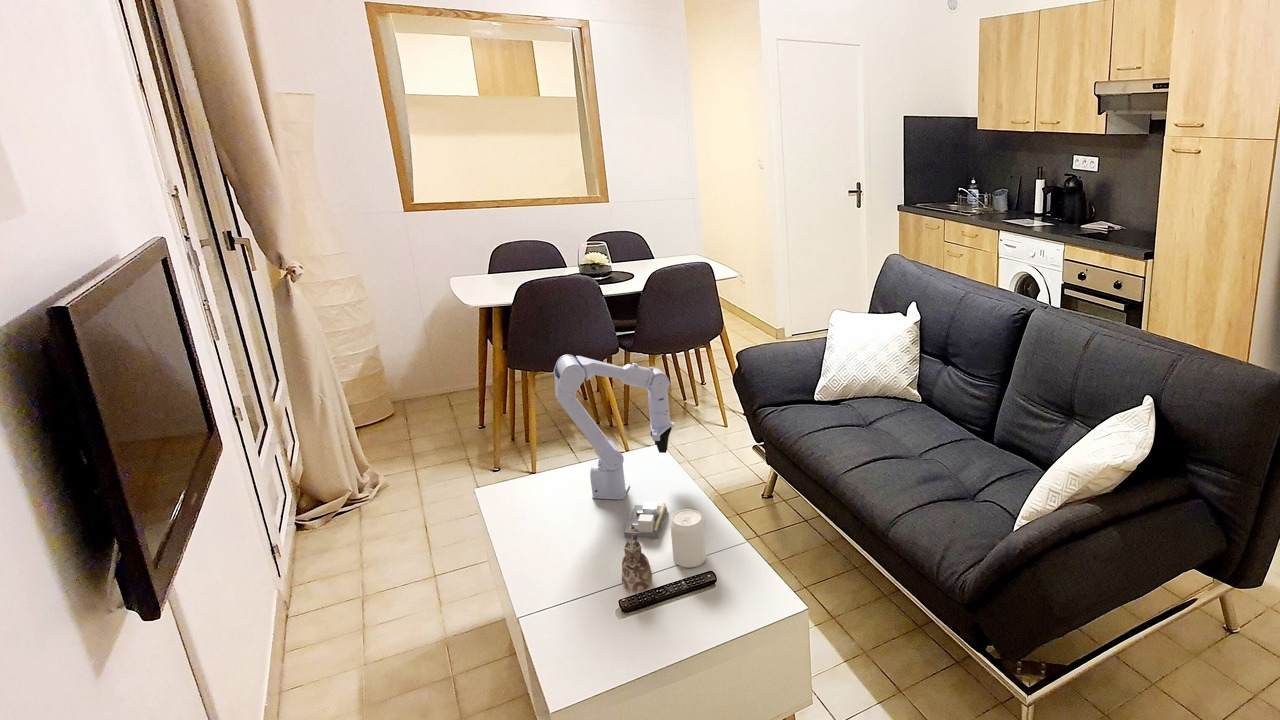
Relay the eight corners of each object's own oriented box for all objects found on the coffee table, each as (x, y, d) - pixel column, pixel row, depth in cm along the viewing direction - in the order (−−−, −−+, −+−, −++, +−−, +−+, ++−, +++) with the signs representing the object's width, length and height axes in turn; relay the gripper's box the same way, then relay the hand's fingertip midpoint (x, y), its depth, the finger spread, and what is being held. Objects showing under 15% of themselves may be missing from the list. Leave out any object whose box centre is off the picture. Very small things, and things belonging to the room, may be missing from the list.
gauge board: (624, 537, 181) (622, 521, 180) (635, 509, 193) (633, 494, 192) (657, 538, 179) (656, 522, 178) (667, 510, 191) (665, 495, 189)
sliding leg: (635, 517, 186) (634, 507, 185) (637, 511, 189) (636, 501, 188) (656, 518, 185) (655, 508, 184) (658, 512, 187) (658, 502, 186)
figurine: (617, 590, 162) (612, 546, 158) (628, 571, 168) (623, 529, 164) (646, 594, 159) (641, 551, 155) (656, 575, 166) (652, 532, 161)
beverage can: (709, 551, 172) (707, 509, 168) (702, 571, 165) (698, 528, 161) (678, 547, 175) (675, 506, 171) (669, 567, 168) (665, 525, 164)
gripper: (668, 420, 191) (672, 464, 196) (677, 399, 205) (680, 440, 209) (643, 420, 193) (647, 463, 198) (653, 399, 206) (657, 439, 211)
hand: (663, 451), depth 204 cm, fingers closed
